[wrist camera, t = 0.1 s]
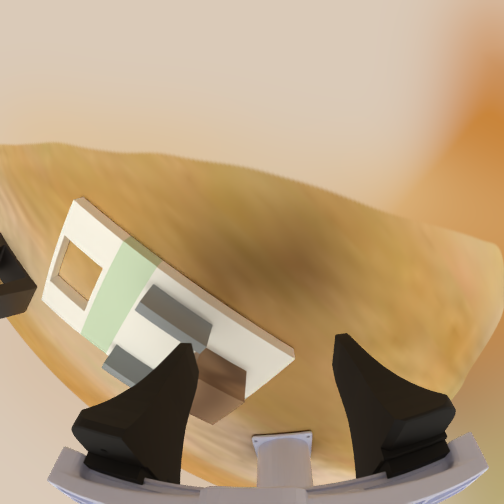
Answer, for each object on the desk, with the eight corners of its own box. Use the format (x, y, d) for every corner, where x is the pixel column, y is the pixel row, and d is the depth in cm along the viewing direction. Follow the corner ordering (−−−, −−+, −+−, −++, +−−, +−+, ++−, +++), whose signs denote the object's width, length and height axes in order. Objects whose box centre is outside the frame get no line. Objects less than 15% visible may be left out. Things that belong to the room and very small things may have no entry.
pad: (162, 260, 22) (156, 266, 21) (111, 345, 26) (105, 353, 24) (130, 235, 22) (123, 240, 20) (86, 326, 25) (80, 333, 24)
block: (246, 371, 24) (244, 402, 20) (217, 395, 25) (212, 424, 22) (201, 344, 23) (193, 375, 19) (176, 372, 25) (166, 401, 21)
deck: (293, 348, 25) (298, 381, 21) (218, 410, 28) (213, 439, 24) (83, 196, 20) (51, 207, 16) (48, 293, 24) (25, 312, 20)
